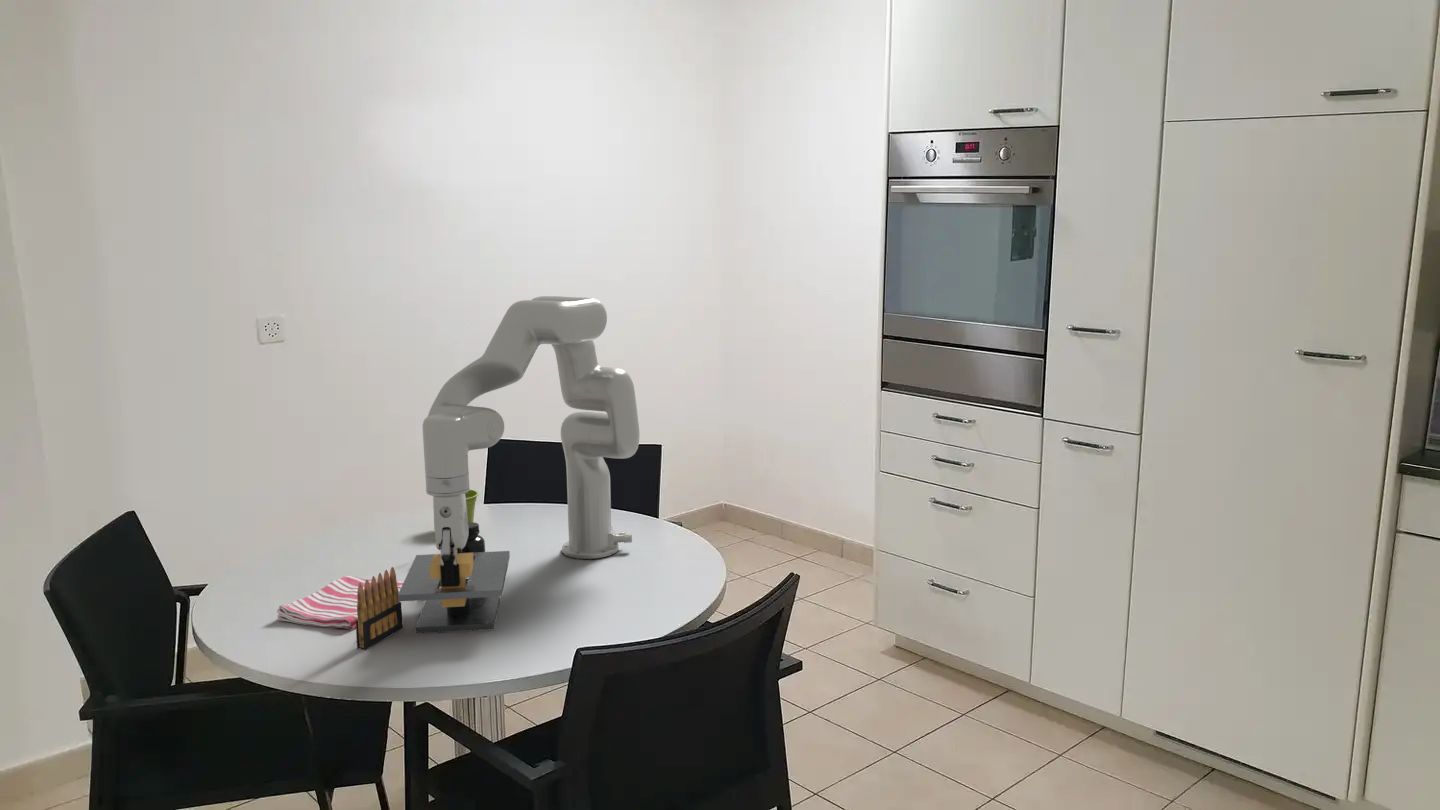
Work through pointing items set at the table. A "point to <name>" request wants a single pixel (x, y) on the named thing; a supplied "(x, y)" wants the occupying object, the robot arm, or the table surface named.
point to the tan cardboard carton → (464, 569)
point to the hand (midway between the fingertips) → (452, 578)
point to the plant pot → (470, 504)
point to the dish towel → (328, 605)
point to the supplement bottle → (474, 540)
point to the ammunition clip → (378, 610)
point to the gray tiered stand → (457, 594)
